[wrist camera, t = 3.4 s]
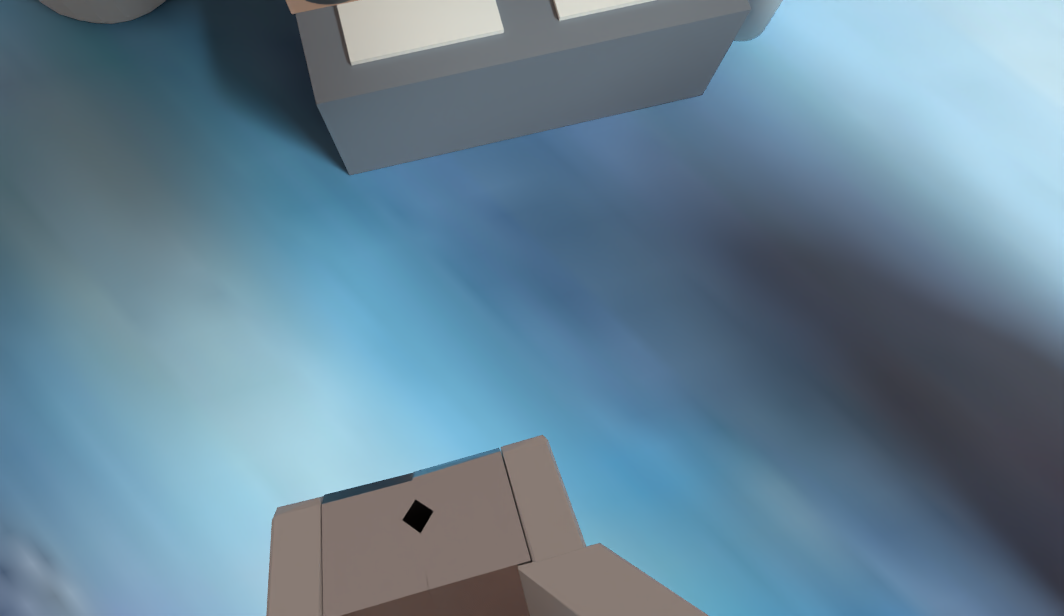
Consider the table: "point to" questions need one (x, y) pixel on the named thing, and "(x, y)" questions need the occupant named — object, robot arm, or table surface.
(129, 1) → the coffee cup
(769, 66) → the table surface
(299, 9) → the swing arm
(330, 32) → the box
